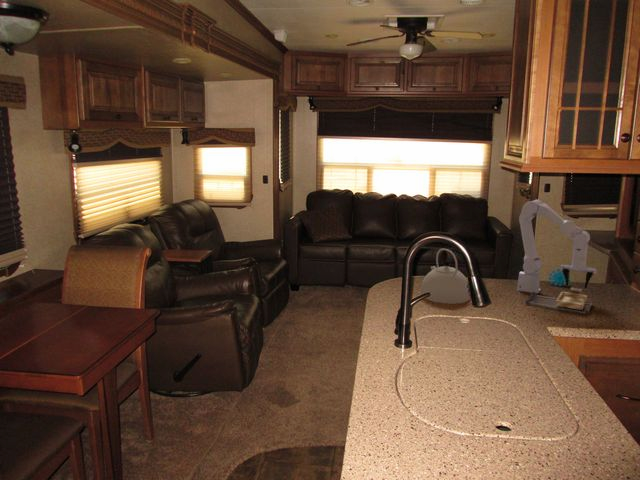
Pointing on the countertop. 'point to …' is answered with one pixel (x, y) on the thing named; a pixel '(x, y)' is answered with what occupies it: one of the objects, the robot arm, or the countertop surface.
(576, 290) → the part block
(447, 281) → the kettle
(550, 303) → the rail base
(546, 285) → the countertop surface
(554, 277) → the gear
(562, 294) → the shallow wooden tray
